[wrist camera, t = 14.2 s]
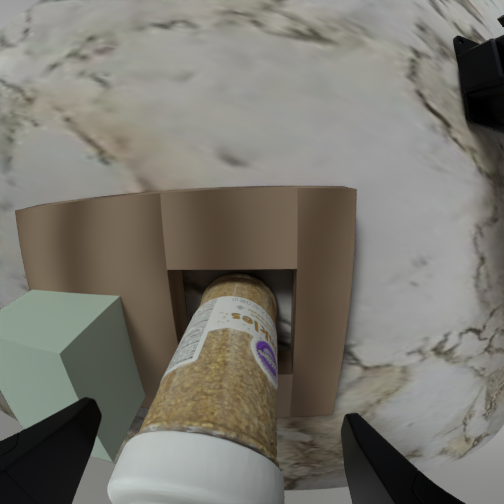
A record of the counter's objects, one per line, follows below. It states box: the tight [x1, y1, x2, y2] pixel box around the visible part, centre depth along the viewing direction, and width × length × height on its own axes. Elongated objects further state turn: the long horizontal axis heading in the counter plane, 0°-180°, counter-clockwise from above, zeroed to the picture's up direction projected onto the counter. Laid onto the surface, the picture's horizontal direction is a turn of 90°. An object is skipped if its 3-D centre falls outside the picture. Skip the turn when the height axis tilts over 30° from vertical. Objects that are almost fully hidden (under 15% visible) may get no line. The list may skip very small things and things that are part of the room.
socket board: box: [15, 186, 357, 418], centre depth 16 cm, size 20×14×2 cm
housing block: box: [0, 290, 145, 462], centre depth 13 cm, size 7×7×6 cm
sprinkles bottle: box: [107, 273, 284, 504], centre depth 11 cm, size 5×5×13 cm
